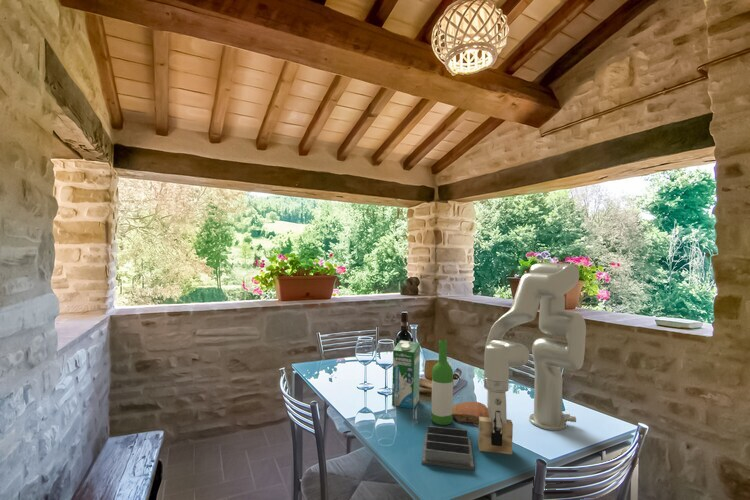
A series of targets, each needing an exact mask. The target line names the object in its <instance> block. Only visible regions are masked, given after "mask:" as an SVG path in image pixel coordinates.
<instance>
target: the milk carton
mask: <svg viewBox="0 0 750 500" xmlns="http://www.w3.org/2000/svg"><path fill="white" fill-rule="evenodd" d="M420 362H421V342H420V341H419V342H418V341H410V340H402V339H401V340H399V341H398V343H397V344H396V346H395V347H394V349H393V351H392V385H391V386H392V387H391V390H392V391H391V392H392V394H391V395H392V396H391V406H395V407H401V408H405V407H406V409H411V408H412V409H411V410H413V409H414V408H415V407H416V406H417V404H418V403H419V402H418V401H420V372H421V371H420V367H421V366H420V365H421V363H420ZM417 402H418V403H417Z"/></svg>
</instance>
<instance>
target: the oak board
mask: <svg viewBox="0 0 750 500" xmlns="http://www.w3.org/2000/svg"><path fill="white" fill-rule="evenodd" d="M494 422H496V420H494ZM495 426H496V424H494V427H495ZM513 428H514V425H513V421H512V419H507V423H506V425H504V424H503V423H502V446H494V445H492V444H491V432H492V423H491V422H490V419H489V418H488V417H479V424H478V442H477V444H478V451H479V452H490V453H497V454H504V455H505V454H506V455H513V437H514V436H513Z"/></svg>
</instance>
